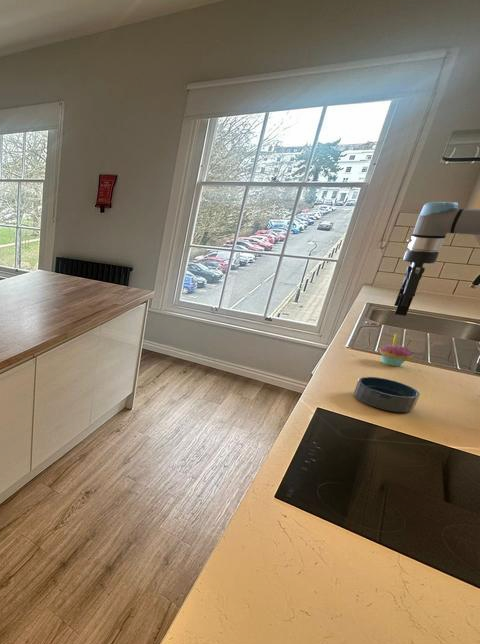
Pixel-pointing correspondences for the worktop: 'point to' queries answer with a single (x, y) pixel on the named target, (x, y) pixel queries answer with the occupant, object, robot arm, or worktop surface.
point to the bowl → (386, 394)
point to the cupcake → (395, 354)
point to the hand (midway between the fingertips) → (399, 310)
